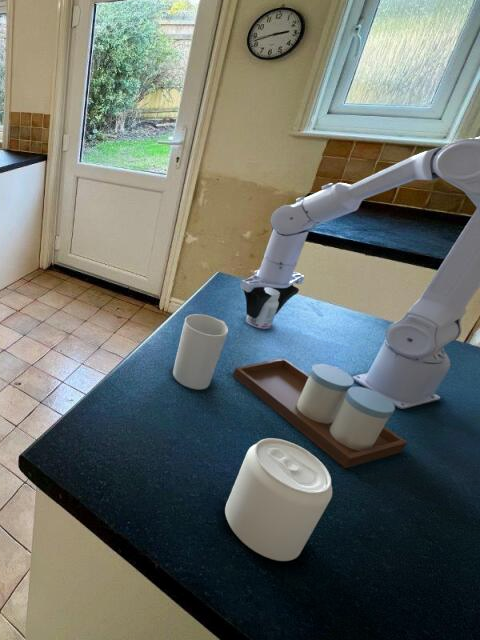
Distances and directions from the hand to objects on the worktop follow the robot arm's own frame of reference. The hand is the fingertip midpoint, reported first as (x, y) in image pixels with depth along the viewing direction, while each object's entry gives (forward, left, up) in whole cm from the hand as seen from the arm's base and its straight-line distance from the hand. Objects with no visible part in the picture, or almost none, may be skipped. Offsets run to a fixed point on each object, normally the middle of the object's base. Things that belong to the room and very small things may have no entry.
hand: (261, 314), depth 92 cm
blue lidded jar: (+14, +30, -2) cm, 33 cm away
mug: (+26, +11, -3) cm, 28 cm away
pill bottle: (0, 0, -3) cm, 3 cm away
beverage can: (+39, +37, -3) cm, 54 cm away
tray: (+14, +23, -2) cm, 27 cm away
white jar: (+14, +24, -2) cm, 28 cm away
